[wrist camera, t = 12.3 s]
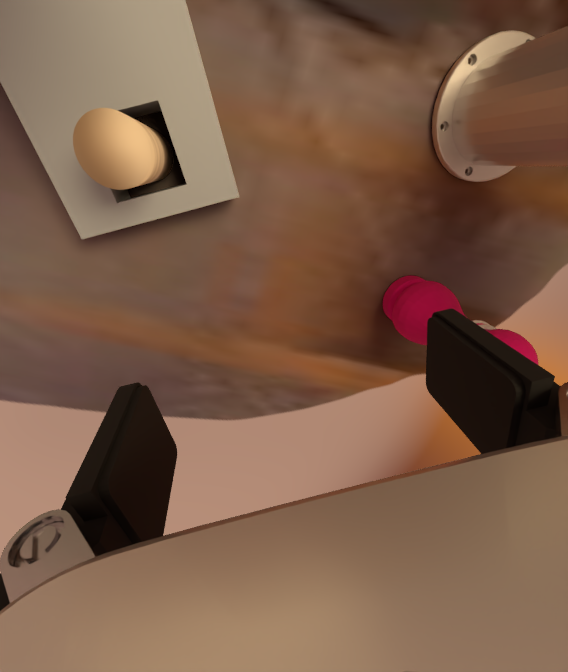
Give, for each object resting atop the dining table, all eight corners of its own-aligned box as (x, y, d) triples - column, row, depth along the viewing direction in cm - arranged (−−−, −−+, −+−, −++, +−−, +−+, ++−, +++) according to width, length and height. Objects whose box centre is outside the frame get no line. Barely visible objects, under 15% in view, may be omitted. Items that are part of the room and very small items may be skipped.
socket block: (176, -24, 26) (168, -61, 22) (236, 192, 34) (239, 196, 30) (-2, 19, 26) (-48, -11, 21) (99, 229, 33) (81, 239, 29)
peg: (162, 121, 30) (132, 99, 20) (180, 174, 32) (162, 179, 22) (114, 134, 30) (57, 118, 20) (135, 186, 32) (95, 197, 22)
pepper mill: (366, 308, 42) (471, 409, 25) (405, 259, 40) (549, 333, 23) (405, 333, 45) (524, 441, 28) (443, 289, 43) (597, 376, 26)
